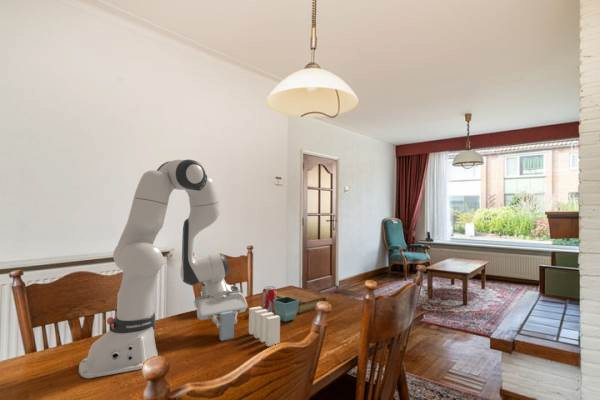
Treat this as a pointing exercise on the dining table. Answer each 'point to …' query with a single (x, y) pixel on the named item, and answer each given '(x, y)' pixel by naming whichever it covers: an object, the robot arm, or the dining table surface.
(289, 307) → the flower pot
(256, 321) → the tile
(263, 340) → the tile
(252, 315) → the tile
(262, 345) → the dining table surface
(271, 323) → the tile
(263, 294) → the soda can
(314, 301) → the diary
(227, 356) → the dining table surface
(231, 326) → the tile
